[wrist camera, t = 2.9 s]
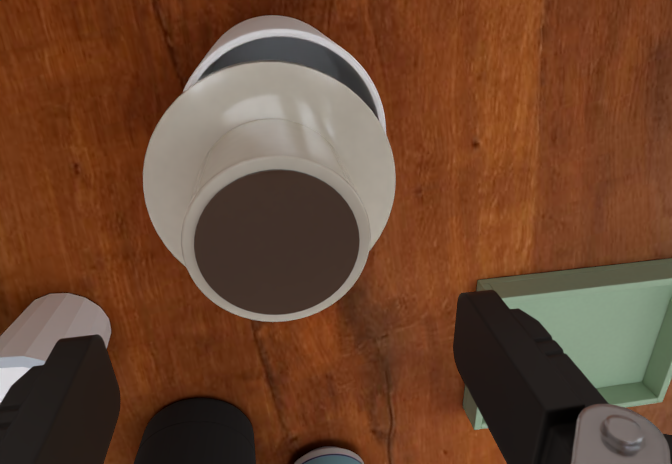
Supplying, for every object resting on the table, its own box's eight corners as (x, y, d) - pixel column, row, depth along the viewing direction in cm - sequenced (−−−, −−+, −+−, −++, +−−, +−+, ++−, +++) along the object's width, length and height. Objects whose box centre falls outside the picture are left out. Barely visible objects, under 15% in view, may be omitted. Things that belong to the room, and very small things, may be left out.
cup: (362, 36, 27) (414, 61, 18) (312, 223, 32) (333, 315, 23) (214, -6, 25) (190, -1, 16) (184, 200, 30) (153, 291, 21)
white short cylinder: (13, 361, 34) (-42, 445, 27) (9, 278, 31) (-53, 351, 25) (118, 369, 35) (88, 451, 29) (123, 291, 32) (92, 363, 26)
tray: (684, 256, 38) (711, 273, 36) (641, 380, 44) (662, 402, 42) (477, 279, 36) (492, 299, 34) (462, 406, 42) (474, 430, 40)
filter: (395, 52, 18) (442, 74, 14) (390, 276, 23) (424, 350, 18) (118, 67, 17) (66, 97, 12) (172, 300, 22) (149, 386, 17)
